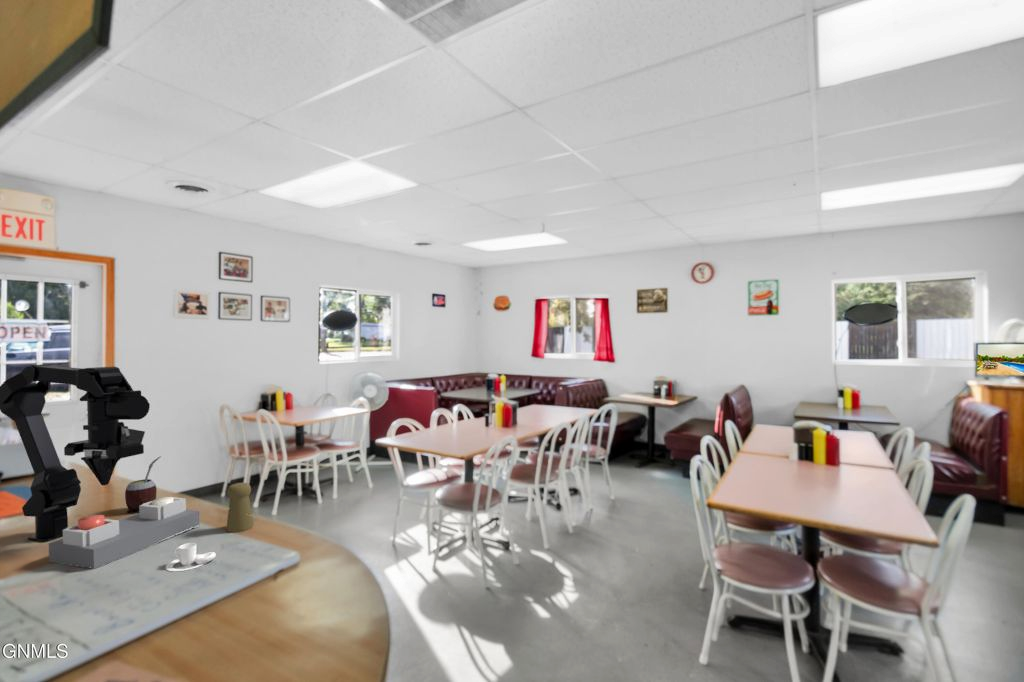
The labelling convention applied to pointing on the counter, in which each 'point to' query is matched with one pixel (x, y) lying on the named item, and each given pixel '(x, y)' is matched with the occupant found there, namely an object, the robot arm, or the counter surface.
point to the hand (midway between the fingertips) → (105, 484)
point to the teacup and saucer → (189, 557)
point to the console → (122, 535)
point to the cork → (239, 508)
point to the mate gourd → (140, 492)
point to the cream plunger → (162, 501)
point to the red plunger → (90, 522)
